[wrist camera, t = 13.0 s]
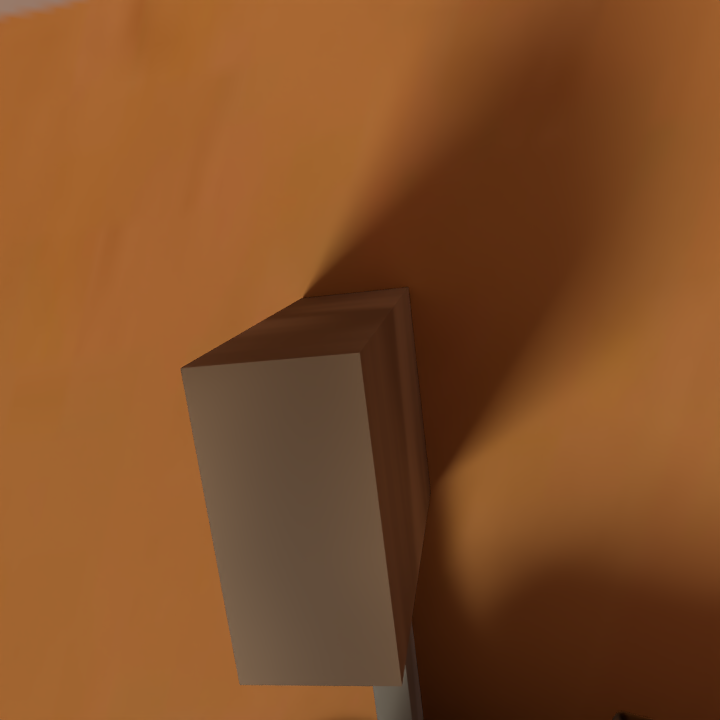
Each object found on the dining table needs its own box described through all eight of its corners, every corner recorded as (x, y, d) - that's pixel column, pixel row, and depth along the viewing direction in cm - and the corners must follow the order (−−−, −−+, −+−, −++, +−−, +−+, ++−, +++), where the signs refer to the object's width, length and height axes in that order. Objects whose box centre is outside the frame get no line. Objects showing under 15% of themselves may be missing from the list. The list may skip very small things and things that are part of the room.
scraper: (377, 826, 22) (327, 1152, 15) (301, 298, 19) (180, 367, 11) (467, 831, 22) (463, 1173, 14) (408, 287, 18) (360, 352, 10)
